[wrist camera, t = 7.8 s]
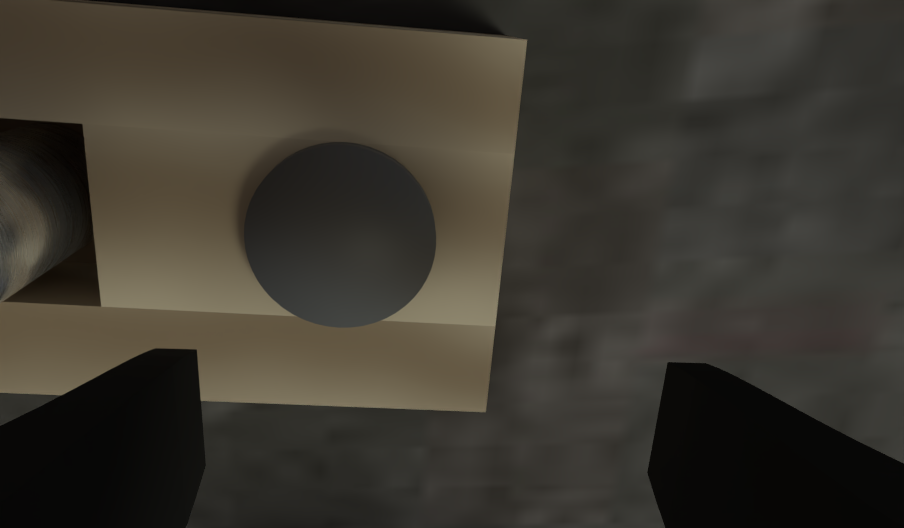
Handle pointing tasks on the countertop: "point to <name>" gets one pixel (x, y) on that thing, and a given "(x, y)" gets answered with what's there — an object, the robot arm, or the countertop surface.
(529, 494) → the countertop surface
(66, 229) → the pin
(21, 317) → the bore block
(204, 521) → the countertop surface
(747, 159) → the countertop surface
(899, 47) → the countertop surface
